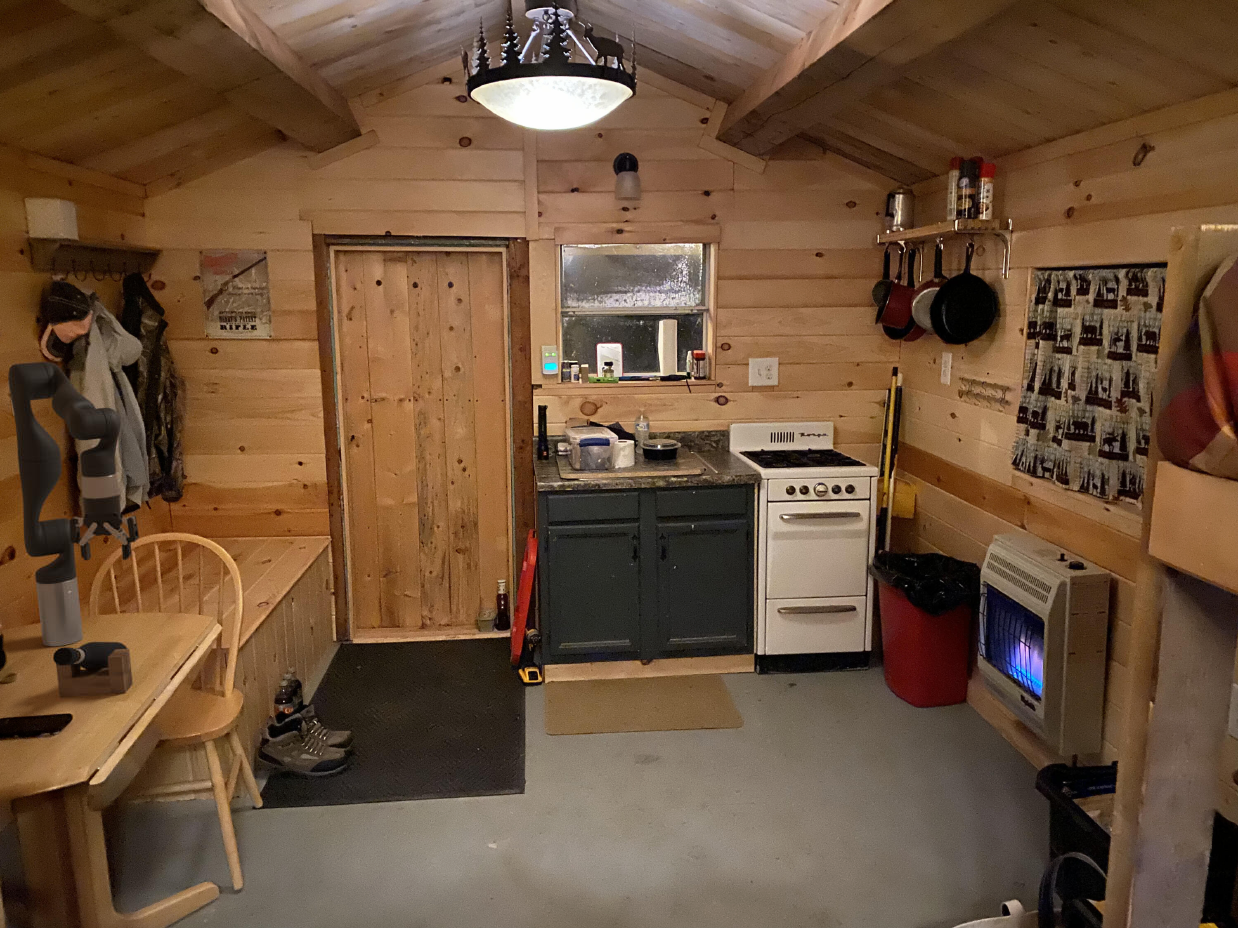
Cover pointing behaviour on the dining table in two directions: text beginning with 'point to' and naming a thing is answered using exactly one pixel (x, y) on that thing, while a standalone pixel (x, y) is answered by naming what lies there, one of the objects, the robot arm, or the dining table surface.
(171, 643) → the dining table surface
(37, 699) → the dining table surface
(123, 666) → the walnut U-rest
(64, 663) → the black bottle
